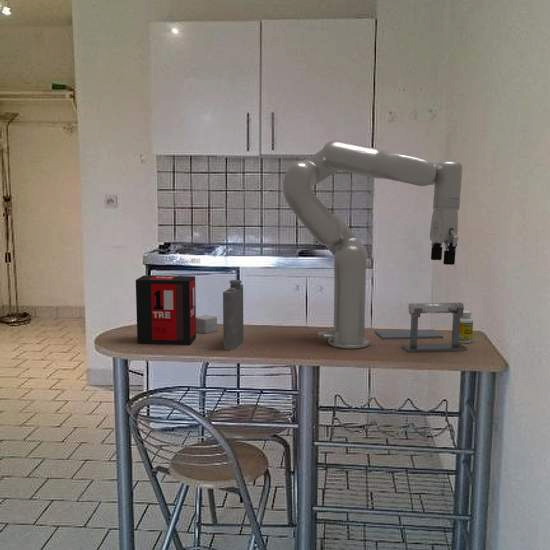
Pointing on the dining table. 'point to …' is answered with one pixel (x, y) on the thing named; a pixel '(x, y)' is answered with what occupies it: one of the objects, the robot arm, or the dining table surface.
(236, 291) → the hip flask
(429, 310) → the grey metallic bar
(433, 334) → the slate mat
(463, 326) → the supplement bottle
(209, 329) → the small box
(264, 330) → the dining table surface
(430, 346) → the hook stand
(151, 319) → the cleaning product box
